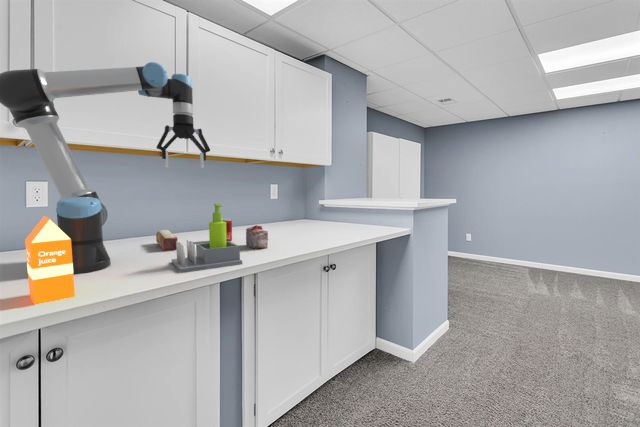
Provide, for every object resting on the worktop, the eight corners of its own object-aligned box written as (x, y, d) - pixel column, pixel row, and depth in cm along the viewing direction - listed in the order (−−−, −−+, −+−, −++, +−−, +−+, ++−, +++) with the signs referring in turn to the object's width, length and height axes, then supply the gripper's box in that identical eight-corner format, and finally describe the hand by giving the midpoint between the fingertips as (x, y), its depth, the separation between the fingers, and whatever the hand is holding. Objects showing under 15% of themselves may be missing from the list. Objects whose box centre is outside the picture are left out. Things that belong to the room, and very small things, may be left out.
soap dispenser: (211, 261, 111) (210, 204, 109) (208, 257, 117) (207, 203, 115) (228, 259, 113) (228, 203, 112) (225, 255, 120) (224, 202, 118)
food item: (270, 248, 139) (270, 226, 139) (253, 250, 135) (252, 227, 134) (259, 243, 151) (259, 223, 150) (243, 245, 147) (242, 224, 146)
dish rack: (180, 272, 101) (179, 247, 100) (171, 262, 114) (170, 240, 113) (242, 264, 112) (241, 241, 111) (227, 255, 125) (227, 235, 125)
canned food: (234, 239, 161) (234, 218, 160) (228, 242, 153) (227, 220, 152) (219, 239, 162) (219, 218, 161) (213, 242, 154) (212, 219, 153)
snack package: (179, 250, 136) (178, 235, 135) (162, 252, 132) (161, 236, 131) (171, 242, 153) (171, 229, 153) (156, 244, 150) (155, 230, 149)
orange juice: (34, 305, 74) (27, 219, 72) (29, 296, 79) (22, 217, 78) (75, 296, 79) (70, 217, 78) (68, 288, 85) (62, 214, 83)
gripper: (211, 120, 139) (213, 169, 141) (147, 113, 125) (149, 167, 127) (216, 117, 133) (218, 168, 135) (149, 109, 119) (152, 166, 121)
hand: (185, 168), depth 131 cm, fingers open, 13 cm apart
